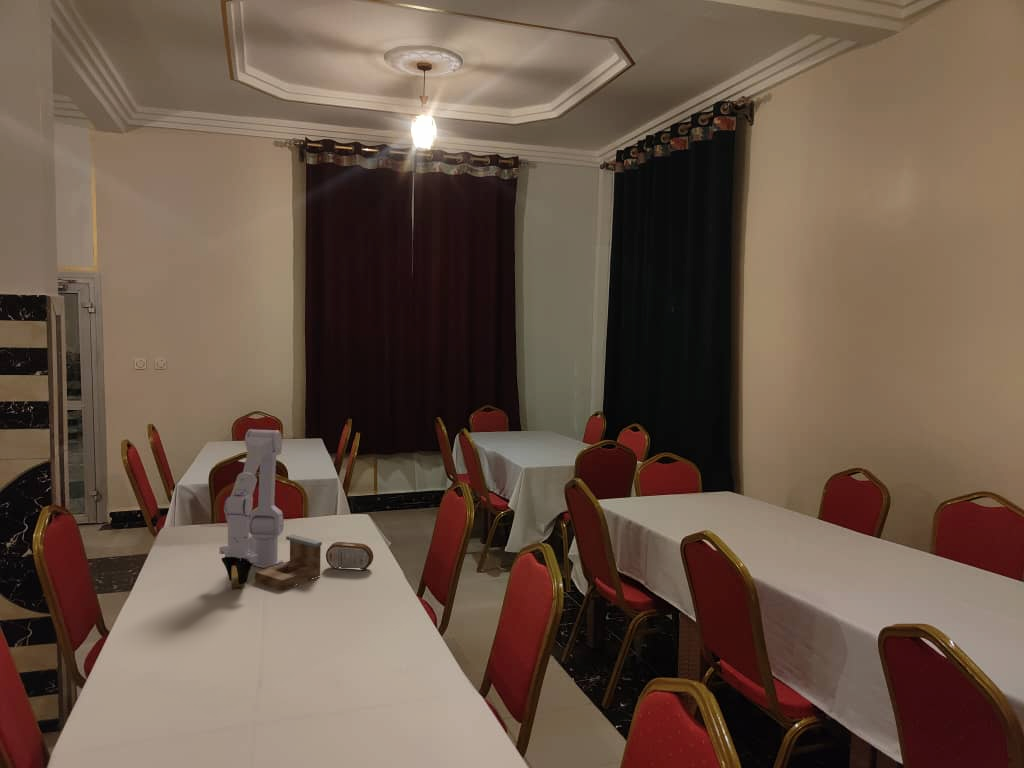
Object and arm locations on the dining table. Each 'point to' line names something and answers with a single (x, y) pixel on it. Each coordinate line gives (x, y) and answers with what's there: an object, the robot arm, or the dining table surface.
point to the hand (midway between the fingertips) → (238, 581)
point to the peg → (235, 578)
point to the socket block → (293, 565)
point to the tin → (349, 555)
